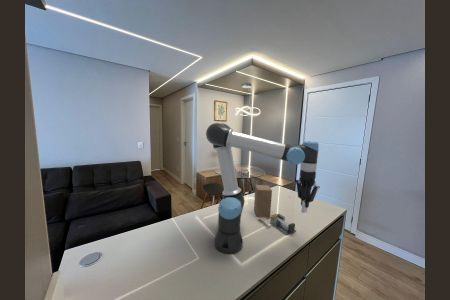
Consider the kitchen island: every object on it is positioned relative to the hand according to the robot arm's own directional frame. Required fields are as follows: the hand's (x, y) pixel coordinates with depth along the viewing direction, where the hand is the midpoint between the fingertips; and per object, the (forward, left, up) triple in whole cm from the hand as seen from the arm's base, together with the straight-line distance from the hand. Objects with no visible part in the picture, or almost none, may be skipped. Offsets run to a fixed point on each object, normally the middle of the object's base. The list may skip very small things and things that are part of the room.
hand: (304, 211), depth 91 cm
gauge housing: (-3, +17, -17) cm, 24 cm away
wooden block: (0, +33, -17) cm, 37 cm away
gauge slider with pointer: (-4, +14, -16) cm, 21 cm away
